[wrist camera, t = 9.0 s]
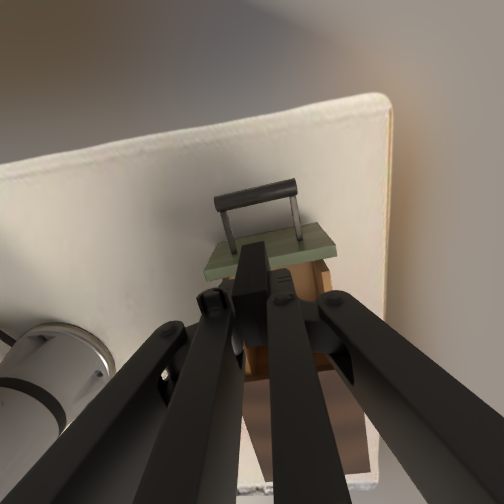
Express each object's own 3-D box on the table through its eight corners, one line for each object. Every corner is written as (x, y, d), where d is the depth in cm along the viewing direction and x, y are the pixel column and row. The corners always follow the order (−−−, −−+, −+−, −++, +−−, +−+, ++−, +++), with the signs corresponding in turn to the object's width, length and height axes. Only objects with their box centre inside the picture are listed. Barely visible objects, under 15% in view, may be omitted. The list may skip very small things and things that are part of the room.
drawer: (203, 194, 30) (182, 208, 22) (309, 169, 29) (327, 174, 21) (247, 346, 38) (244, 395, 30) (333, 332, 36) (352, 381, 28)
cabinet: (239, 326, 38) (231, 384, 28) (333, 310, 36) (359, 366, 26) (264, 410, 44) (265, 482, 34) (346, 400, 42) (370, 472, 32)
